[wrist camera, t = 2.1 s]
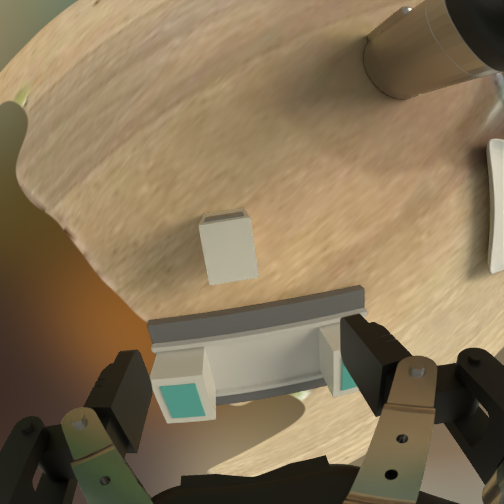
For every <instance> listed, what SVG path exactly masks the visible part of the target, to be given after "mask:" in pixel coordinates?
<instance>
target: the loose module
mask: <svg viewBox="0 0 504 504" xmlns="http://www.w3.org/2000/svg"><path fill="white" fill-rule="evenodd" d="M198 226H199V232H200V238H201V243H202V249H203V254H204V259H205V265H206V270H207V275H208V280H209V285H216V284H223V283H229V282H235V281H241V280H248V279H254V278H259V274H258V267H257V260H256V253H255V246H254V239H253V232H252V225H251V218H250V216H249V214H248V213H247V211H246V210H245V208H238V209H231V210H225V211H219V212H213V213H207V214H204V215H203V217H202V219H201V221H200V223H199V225H198Z"/></svg>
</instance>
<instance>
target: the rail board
mask: <svg viewBox="0 0 504 504" xmlns="http://www.w3.org/2000/svg"><path fill="white" fill-rule="evenodd" d="M358 313H359V314H361V315H362V316H363V317H364V318H365V320H366V316H367V315H368V311H367V310H366V309H365V308H364V288H363V287H362V286H360V285H357V286H352V287H347V288H343V289H338V290H333V291H328V292H323V293H318V294H313V295H307V296H302V297H297V298H291V299H286V300H280V301H275V302H269V303H263V304H257V305H251V306H245V307H239V308H233V309H226V310H220V311H213V312H206V313H199V314H192V315H185V316H178V317H170V318H163V319H155V320H149V322H148V324H147V328H148V331H149V334H150V337H151V340H152V343H153V344H152V347H151V350H152V352H154V353H155V356H156V358H155V361H154V364H153V367H152V371H151V374H150V380H151V383H152V390H153V392H154V394H155V397H156V399H157V402H158V404H159V406H160V408H161V411H162V413H163V415H164V417H165V419H166V422H167V423H181V422H194V421H204V420H215V419H216V405H223V404H231V403H238V402H245V401H252V400H257V399H263V398H269V397H274V396H280V395H285V394H290V393H295V392H300V391H305V390H309V389H314V388H318V387H322V386H326V385H327V386H328V388H329V390H330V392H331V394H332V396H333V398H335V397H338V396H342V395H346V394H349V393H353V392H356V391H360V390H359V389H358V387H357V385H356V384H355V382H354V380H353V379H352V377H351V376H350V374H349V372H348V371H347V369H346V367H345V366H344V364H343V361H342V358H341V353H340V319H341V317H345V316H349V315H354V314H358Z"/></svg>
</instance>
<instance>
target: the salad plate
mask: <svg viewBox="0 0 504 504" xmlns="http://www.w3.org/2000/svg"><path fill="white" fill-rule="evenodd" d="M486 151H487V164H488V174H489V190H490V231H489V246H488V269H489V272H490V274H495V273H498V272H500V271H503V270H504V140H502V139H491V140H489V141H488V144H487V149H486Z"/></svg>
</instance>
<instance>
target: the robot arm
mask: <svg viewBox="0 0 504 504" xmlns="http://www.w3.org/2000/svg"><path fill="white" fill-rule="evenodd" d="M367 38H368V43H367V45H366V47H365V49H364V53H363V61H364V66H365V69H366V71H367V74H368V75H369V77H370V79H371V80H372V82H373V83H374V84H375V85H376V86H377V87H378V88H379V89H380V90H381V91H382V92H384V93H385V94H387V95H389V96H391V97H393V98H397V99H408V98H411V97H415V96H419V95H421V94H424V93H427V92H431V91H434V90H437V89H441V88H444V87H447V86H451V85H454V84H458V83H461V82H465V81H469V80H473V79H476V78H480V77H484V76H488V75H492V74H497V73H501V72H504V0H425V1H423V2H422V3H420V4H419V5H418V6H416V7H415V8H410V7H401V8H400V9H399V10H398V11H396V12H395V13H394V14H393V15H391V16H390V17H389V18H388V19H386V20H385V21H384V22H383V23H381V24H380V25H379V26H378V27H377V28H375V29H374V30H373V31H372V32H371V33H369V34H368V35H367ZM340 353H341V358H342V361H343V364H344V366H345V367H346V369H347V371H348V372H349V374H350V376H351V377H352V379H353V380H354V382H355V384H356V385H357V387H358V389H359V390H360V392H361V393H362V395H363V397H364V398H365V400H366V402H367V403H368V405H369V407H370V408H371V410H372V411H373V413H374V415H375V416H376V417H377V416H380V418H379V421H378V424H377V427H376V430H375V432H374V435H373V438H372V440H371V443H370V446H369V448H368V451H367V453H366V456H365V458H364V461H363V463H362V466H361V467H358V466H353V465H346V464H329V463H328V460H327V457H326V455H325V456H321V457H317V458H313V459H309V460H304V461H300V462H295V463H290V464H288V465H285V466H283V467H280V468H278V469H275V470H273V471H270V472H267V473H265V474H262V475H259V476H256V477H243V476H231V475H221V474H208V475H190V476H181V485H180V486H176V487H173V488H170V489H167V490H165V491H163V492H161V493H159V494H157V495H155V496H154V497H151V495H150V494H149V493H148V492H147V490H146V489H145V487H144V486H143V485H142V483H141V482H140V481H139V479H138V478H137V477H136V475H135V474H134V472H133V471H132V469H131V468H130V466H129V465H128V463H127V462H126V460H125V459H124V458H125V455H126V453H137V452H138V448H139V444H140V440H141V436H142V431H143V428H144V424H145V420H146V416H147V412H148V408H149V405H150V401H151V397H152V383H151V380H150V377H149V375H148V372H147V369H146V367H145V364H144V361H143V359H142V356H141V354H140V352H139V351H138V350H127V351H120V352H119V353H118V355H117V357H116V359H115V361H114V363H113V364H109V365H108V366H107V367H106V368H105V369H104V370H103V371H102V372H101V374H100V376H99V378H98V381H96V383H95V387H93V389H92V391H91V393H90V395H89V397H88V399H87V401H86V403H85V405H84V407H82V408H77V409H74V410H72V411H70V412H69V413H68V414H66V415H65V417H64V418H63V420H62V423H61V424H59V425H53V426H47V427H46V426H45V425H44V423H43V422H42V420H41V419H40V418H38V417H35V416H29V417H26V418H23V419H21V420H20V421H19V422H18V423H17V424H16V425H15V426H14V428H13V430H12V431H11V433H10V435H9V437H8V438H7V440H6V442H5V444H4V446H3V448H2V450H1V451H0V504H72V501H73V497H74V493H75V490H76V486H77V482H78V483H79V485H80V488H81V490H82V492H83V494H84V496H85V498H86V500H87V503H88V504H458V503H456V502H452V501H449V500H446V499H443V498H439V497H436V496H433V495H431V494H427V493H425V492H422V491H420V487H421V483H422V479H423V475H424V471H425V466H426V462H427V457H428V453H429V448H430V442H431V437H432V431H433V425H434V424H439V423H444V424H445V426H446V427H447V429H448V430H449V431H450V433H451V434H452V436H453V437H454V439H455V440H456V442H457V443H458V445H459V446H460V448H461V449H462V451H463V452H464V454H465V455H466V457H467V458H468V459H469V461H470V463H471V464H472V466H473V467H474V469H475V470H476V472H477V473H478V474H479V476H480V478H481V479H482V481H483V483H484V484H485V487H484V488H483V491H482V501H483V503H484V504H504V366H503V365H502V364H501V363H500V362H499V361H498V360H497V359H496V358H494V357H493V356H492V355H491V354H490V353H489V352H487V351H486V350H483V349H480V348H467V349H465V350H463V351H461V352H460V353H459V355H458V358H457V362H456V363H453V364H447V365H440V366H437V365H436V363H435V362H434V361H433V360H431V359H429V358H427V357H424V356H412V355H411V354H410V353H409V352H408V351H407V349H406V348H405V347H404V346H403V345H402V344H401V343H400V342H399V341H398V340H396V339H395V337H394V336H393V335H392V334H390V332H389V331H388V330H387V329H386V328H385V327H384V326H382V325H379V324H377V323H375V322H371V323H368V322H367V321H366V320H365V318H364V317H363V316H362V315H361V314H359V313H358V314H354V315H349V316H345V317H341V319H340ZM479 402H480V404H481V405H482V406H483V407H484V408H485V409H486V411H487V412H488V414H489V417H488V416H487V415H486V414H485V413H484V411H483V410H482V409H481V408H480V407H479V406H478V405H479ZM37 466H38V467H39V468H40V469H41V471H42V472H43V473H42V476H41V478H40V481H39V484H38V487H37V489H36V491H35V490H34V488H33V485H32V479H33V476H34V474H35V471H36V469H37Z"/></svg>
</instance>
